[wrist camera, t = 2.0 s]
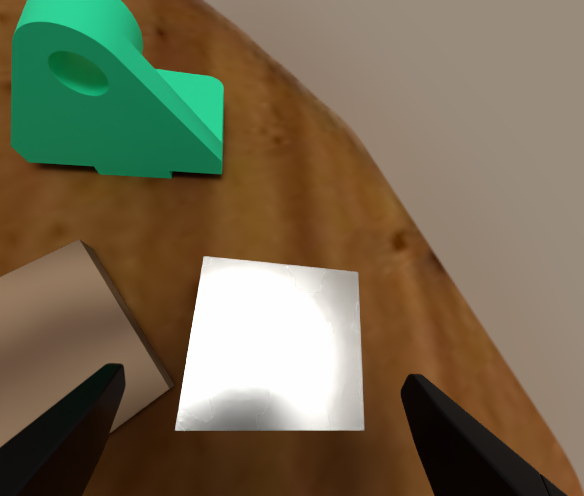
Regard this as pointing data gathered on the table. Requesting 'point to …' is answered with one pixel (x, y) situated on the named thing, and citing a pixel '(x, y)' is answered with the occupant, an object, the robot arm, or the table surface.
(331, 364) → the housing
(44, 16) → the camera mount
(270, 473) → the table surface
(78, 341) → the stand
